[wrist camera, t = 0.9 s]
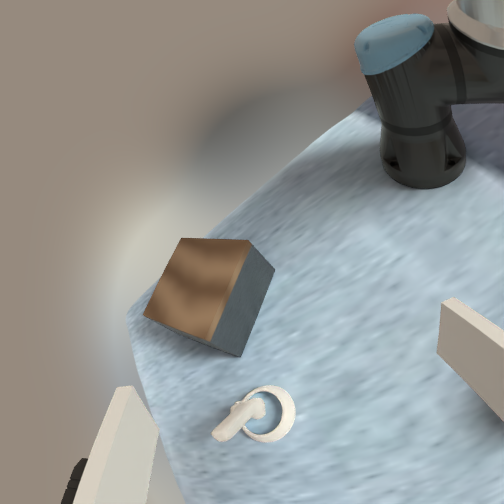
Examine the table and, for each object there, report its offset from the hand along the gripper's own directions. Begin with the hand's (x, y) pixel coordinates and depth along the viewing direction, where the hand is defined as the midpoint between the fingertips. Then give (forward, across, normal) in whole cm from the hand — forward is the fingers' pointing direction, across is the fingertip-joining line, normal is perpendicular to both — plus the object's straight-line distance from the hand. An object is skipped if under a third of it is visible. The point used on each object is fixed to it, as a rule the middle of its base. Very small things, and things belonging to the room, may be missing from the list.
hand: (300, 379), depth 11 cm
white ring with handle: (+18, -3, -20) cm, 27 cm away
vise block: (+34, -6, -11) cm, 37 cm away
